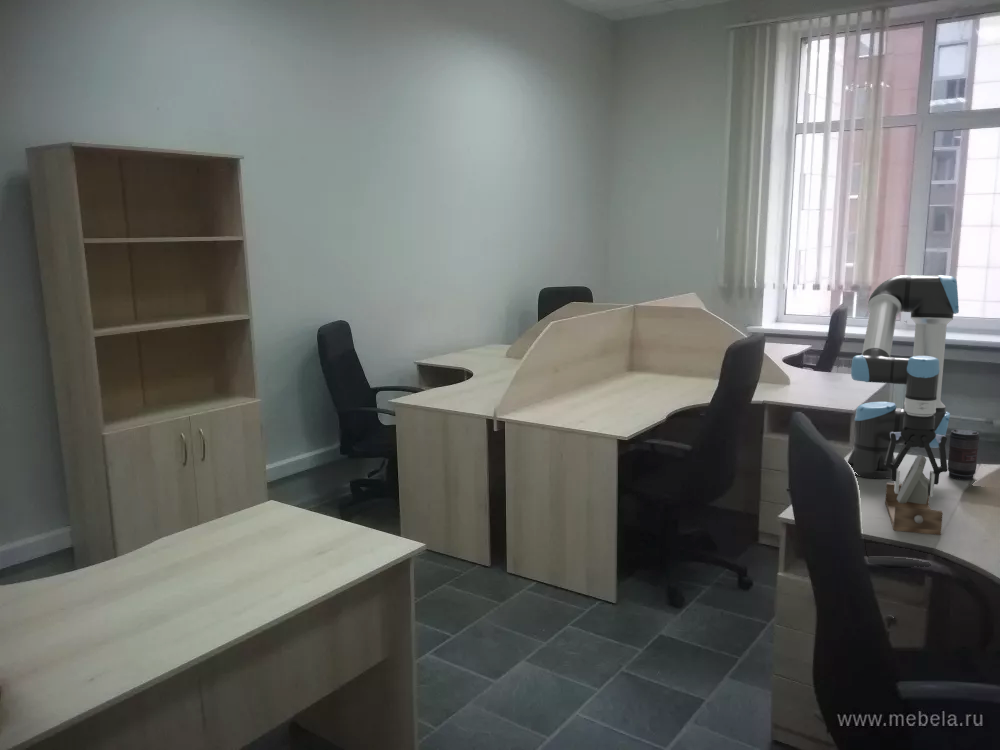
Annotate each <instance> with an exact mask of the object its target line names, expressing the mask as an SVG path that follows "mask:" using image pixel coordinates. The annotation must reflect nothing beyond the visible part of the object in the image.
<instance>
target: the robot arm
mask: <svg viewBox="0 0 1000 750" xmlns="http://www.w3.org/2000/svg"><path fill="white" fill-rule="evenodd" d="M959 309H960V308H959V294H958V281H957V279H956V277H954V276H952V275H942V274H939V275H937V274H935V275H932V274H931V275H926V274H925V275H922V274H921V275H918V274H917V275H908V274H907V275H905V274H904V275H903V274H902V275H901V274H900V275H897V276H893V277H890V278H888V279H886V280H885V281H884V282H882V283H881V284H879V285H878V286H877V287H876V288H875V289H874V290H873V292H872V293H871V294H870V296H869V298H868V301H867V312H868V313H869V314H868V321H867V326H866V329H865V330H866V332H865V335H864V342H863V346H862V351H861V354H860V355H854V356H853V357H852V360H851V368H850V369H851V370H850V375H851V379H852V380H854V381H856V382H864V383H875V384H876V383H877V384H878V383H881V384H893V385H906V386H905V395H904V403H903V408H901V407H897V405H896V403H895V402H891V401H890V402H889V401H870V402H865V403H862V404H859V405H858V406H857V408H856V409H855V410H856V411H855V417H854V421H855V422H854V423H855V424H854V435H853V436H854V438H853V447H852V450H851V453H850V455H849V457H848V460H847V461H848V463H849V464H850V465H851V467H852V468H853V470H854V472H856V473H857V474H858V475H860V476H859V477H861V476H862V477H861V478H866V477H867V479H874V478H876V479H875V480H877V479H880V480H882V479H883V480H884V479H890V480H891V481H892V482H894V483H895V486H894V491H895V494H898V492H899V484H900V480H901V479H900V478H901V470H900V468H899V466H900V465H901V463H902V462H903V460H904V459H905V456H906V455H907V453H908V452H909V450H910V449H911V448H917V447H918V448H919V449H920V448H924V449H925V450H924V451H925V452H926V455H927V458H928V459H929V462H930V464H931V467H932V470H930V471H929V478H928V479H929V491H928V494H929V498H932V497H934V489H935V485H939V480H940V474H941V473H946V472H948V459H947V451H946V443H947V440H948V437H946V434H947V431H948V427H949V422H950V418H951V413H950V412H949V411H946V405H945V404H944V403H943V402H942V400H941V399H942V386H943V385H942V384H943V374H944V372H943V371H944V363H945V351H946V350H945V348H946V338H947V325H948V324H949V323H950V322H952V321H953V319H954V315H956V314H959V311H960V310H959ZM903 312H904V313H910V319H911V321H913V322H914V323H915V328H914V338H913V340H914V341H913V350H912V351H913V352H912V356H910V357H896V356H894V357H893V356H891V354H892V347H893V342H894V341H893V340H894V336H895V335H894V334H895V327H896V322H897V316H898V315H900V313H903ZM897 445H902V447H901V448H900V450H899V451H898V454H897V455H896V456H895V449H896V446H897ZM933 448H934V449H935V448H936V449H938V451H939V452H938V453H939V462H940V466H938V463H937V461H936V459H935V456H934V454H933V451H932V449H933ZM856 473H855V474H856ZM857 474H856V475H855V476H857Z"/></svg>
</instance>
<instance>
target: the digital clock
mask: <svg viewBox="0 0 1000 750" xmlns="http://www.w3.org/2000/svg"><path fill="white" fill-rule="evenodd" d="M926 463H927V458H926V457H925V456H924V455H921V454H920V455H917V456H916V457H915V459H914V461H913V463H912V465H911V466H910V467H909V470H908V472H907V474H906V476H905V477H904V479H903V482H902V483H901V484H902V486H901V488H900V491H899V494H898V496H897V500H898V502H899V503H902V504H903V503H906V502H912V503H919V504H926V502H927V498H928V495H929V494H928V491H929V479H930V478H928V477H927V476H925V474H924V469H925V466H926Z"/></svg>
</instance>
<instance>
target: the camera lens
mask: <svg viewBox="0 0 1000 750" xmlns="http://www.w3.org/2000/svg"><path fill="white" fill-rule="evenodd" d="M948 446H949V449H948V450H949V451H948V458H947V469H948V470H947V472H948V476H949V477H950V478H953V479H956V480H960V481H970V480H973V478H974V476H975V474H976V473H977V472H976V471H977V467H978V466H977V465H978V464H977V463H978V450H979V447H980V433H979V432H978V431H976V430H971V429H959V428H958V429H957V428H956V429H951V432H950V434H949V441H948Z"/></svg>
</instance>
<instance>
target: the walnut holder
mask: <svg viewBox="0 0 1000 750" xmlns="http://www.w3.org/2000/svg"><path fill="white" fill-rule="evenodd" d="M885 484H886V485H885V486H886V487H885V500H884V504H885V507H886V509H887V512H888V516H889V519H890V522H891V525H892V528H893V530H894V531H897V532H906V533H907V532H908V533H917V534H927V535H935V534H936V535H939V536H941V535H942V527H943V525H942V523H943V513H944V512H943V510H938V509H932V508H931V506H930V496H929V495H928V498H927V502H926V504H919V503H912V502H906V503H903V504H902V503H899V502H898V500H897V496H898V494H899V492H898V494H895V491H894V486H895V482H894V483H893V482H886V483H885ZM901 486H902V483H899V491H900V488H901Z"/></svg>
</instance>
